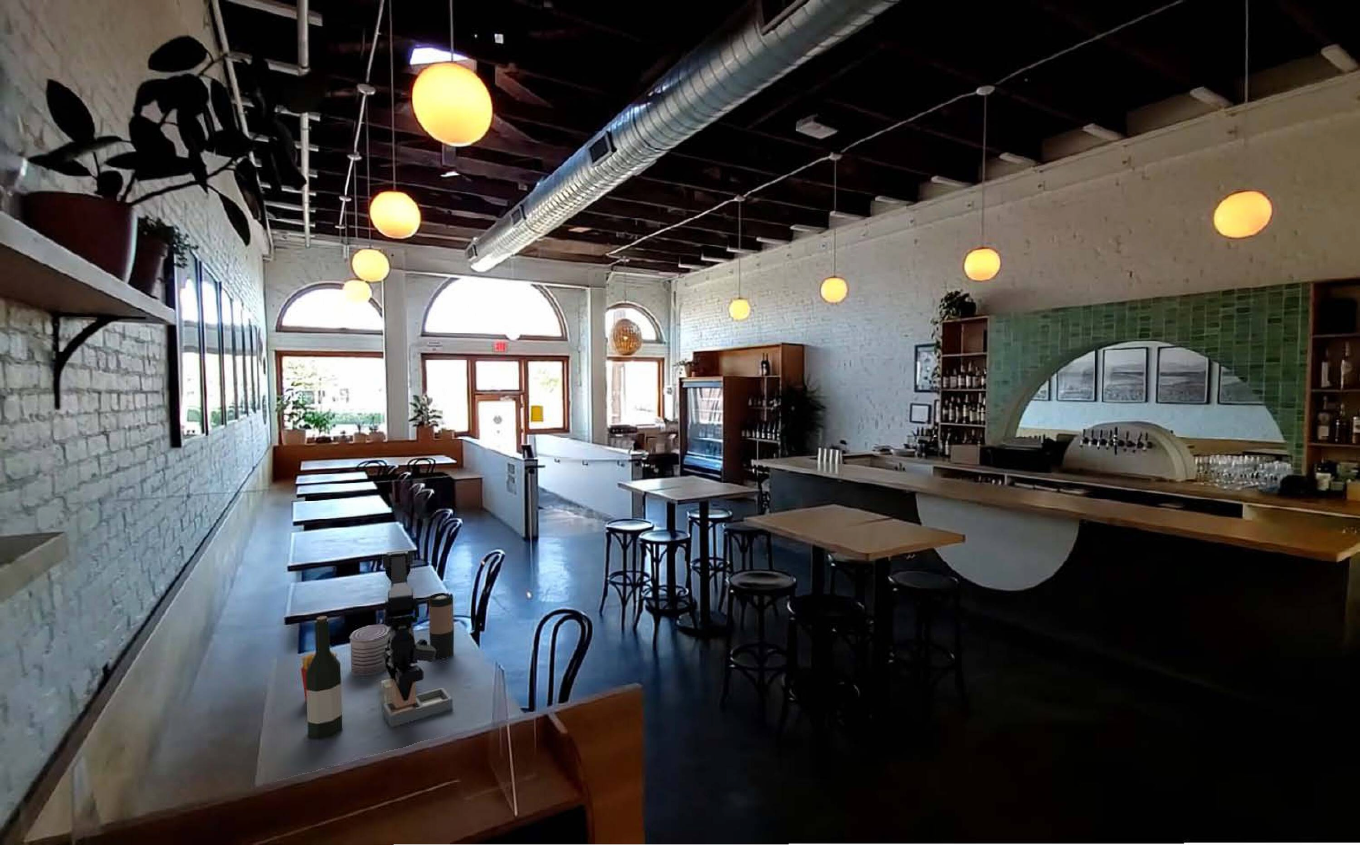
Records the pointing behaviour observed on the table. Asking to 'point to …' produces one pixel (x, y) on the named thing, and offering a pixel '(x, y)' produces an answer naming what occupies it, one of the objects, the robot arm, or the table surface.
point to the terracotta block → (397, 697)
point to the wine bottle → (323, 687)
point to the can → (368, 649)
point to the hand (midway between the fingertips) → (403, 696)
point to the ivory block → (386, 691)
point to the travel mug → (441, 624)
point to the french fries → (304, 668)
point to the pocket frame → (419, 707)
